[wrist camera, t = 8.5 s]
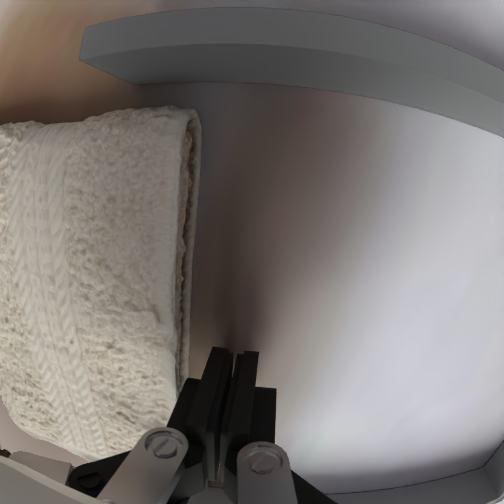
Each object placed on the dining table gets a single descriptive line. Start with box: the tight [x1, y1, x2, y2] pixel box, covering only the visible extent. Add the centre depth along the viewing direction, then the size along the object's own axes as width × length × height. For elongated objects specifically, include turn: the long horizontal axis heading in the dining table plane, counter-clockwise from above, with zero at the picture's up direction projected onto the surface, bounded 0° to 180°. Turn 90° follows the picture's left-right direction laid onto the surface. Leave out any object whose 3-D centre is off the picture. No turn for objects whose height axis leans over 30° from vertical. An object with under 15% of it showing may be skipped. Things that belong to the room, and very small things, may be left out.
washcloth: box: [0, 105, 202, 462], centre depth 11 cm, size 12×18×3 cm, turn 174°
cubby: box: [79, 7, 504, 504], centre depth 10 cm, size 22×24×4 cm
